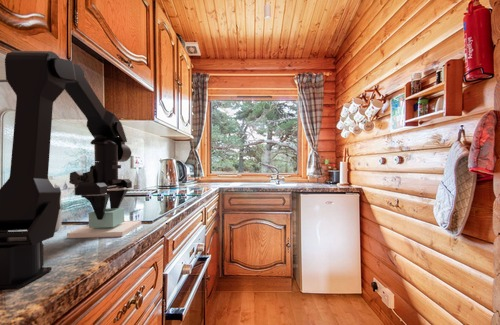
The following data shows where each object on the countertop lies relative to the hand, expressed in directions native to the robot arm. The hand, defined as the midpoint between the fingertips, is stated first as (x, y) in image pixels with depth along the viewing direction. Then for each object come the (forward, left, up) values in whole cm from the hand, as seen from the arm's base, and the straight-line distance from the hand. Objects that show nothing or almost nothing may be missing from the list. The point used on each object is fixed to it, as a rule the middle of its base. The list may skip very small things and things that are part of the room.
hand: (107, 216), depth 69 cm
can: (+1, +18, -4) cm, 19 cm away
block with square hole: (0, 0, -2) cm, 2 cm away
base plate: (0, 0, -4) cm, 4 cm away
